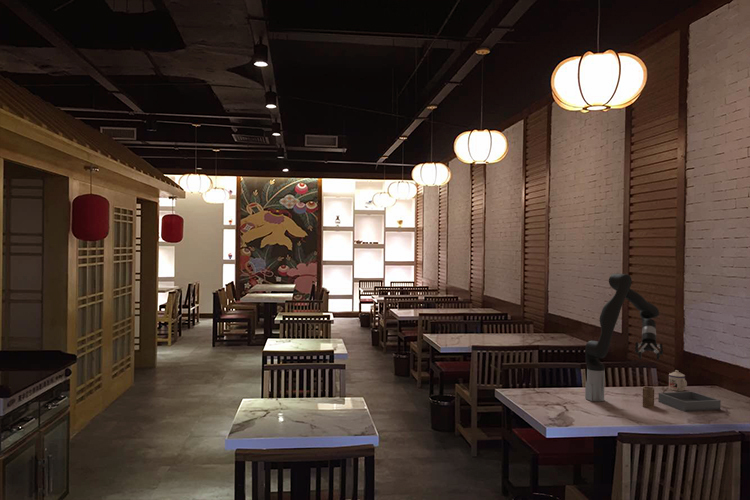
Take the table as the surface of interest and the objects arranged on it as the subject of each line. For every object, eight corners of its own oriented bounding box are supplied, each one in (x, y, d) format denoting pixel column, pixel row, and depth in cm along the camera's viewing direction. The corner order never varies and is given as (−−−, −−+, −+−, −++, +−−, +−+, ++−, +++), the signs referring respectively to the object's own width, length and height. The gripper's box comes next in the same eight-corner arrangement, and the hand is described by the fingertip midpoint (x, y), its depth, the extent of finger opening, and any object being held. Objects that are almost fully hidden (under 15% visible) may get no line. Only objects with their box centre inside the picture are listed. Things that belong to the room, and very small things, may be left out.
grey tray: (685, 411, 296) (685, 402, 296) (658, 401, 316) (658, 392, 316) (720, 409, 301) (720, 400, 301) (691, 400, 321) (692, 391, 321)
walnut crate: (642, 406, 305) (642, 388, 305) (642, 404, 310) (643, 386, 310) (654, 408, 303) (654, 389, 303) (654, 405, 308) (654, 387, 308)
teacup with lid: (664, 388, 349) (665, 369, 349) (676, 387, 351) (677, 368, 351) (680, 392, 337) (680, 373, 337) (692, 392, 340) (692, 372, 340)
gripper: (635, 331, 328) (634, 354, 318) (662, 332, 321) (662, 356, 311) (635, 338, 332) (635, 362, 323) (663, 339, 326) (663, 363, 316)
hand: (648, 359), depth 317 cm, fingers open, 8 cm apart
